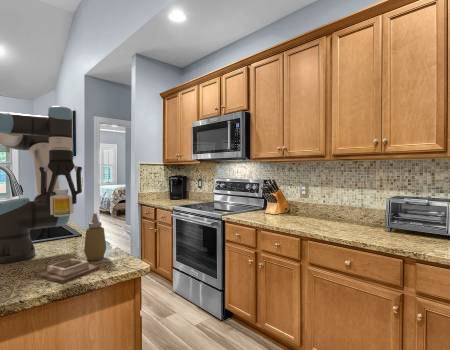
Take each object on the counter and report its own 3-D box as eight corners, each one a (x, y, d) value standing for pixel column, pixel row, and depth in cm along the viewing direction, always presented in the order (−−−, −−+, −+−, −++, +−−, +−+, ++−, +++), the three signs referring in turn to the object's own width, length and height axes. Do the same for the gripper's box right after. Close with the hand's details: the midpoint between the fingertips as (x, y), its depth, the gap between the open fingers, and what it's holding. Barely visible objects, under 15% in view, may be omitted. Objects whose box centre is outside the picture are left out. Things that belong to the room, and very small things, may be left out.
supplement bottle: (51, 216, 102) (51, 189, 102) (67, 214, 106) (67, 188, 106) (56, 217, 98) (56, 190, 98) (73, 215, 102) (72, 189, 102)
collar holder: (34, 276, 93) (34, 267, 93) (73, 263, 106) (73, 255, 106) (62, 283, 87) (62, 273, 87) (99, 268, 100) (99, 260, 100)
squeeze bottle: (97, 262, 107) (97, 215, 106) (79, 261, 108) (78, 214, 108) (110, 256, 115) (110, 212, 114) (93, 254, 116) (92, 211, 116)
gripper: (27, 148, 96) (29, 216, 96) (87, 149, 101) (88, 213, 101) (35, 150, 103) (36, 213, 103) (90, 150, 108) (91, 211, 108)
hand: (62, 213), depth 102 cm, fingers closed on supplement bottle, 5 cm apart
